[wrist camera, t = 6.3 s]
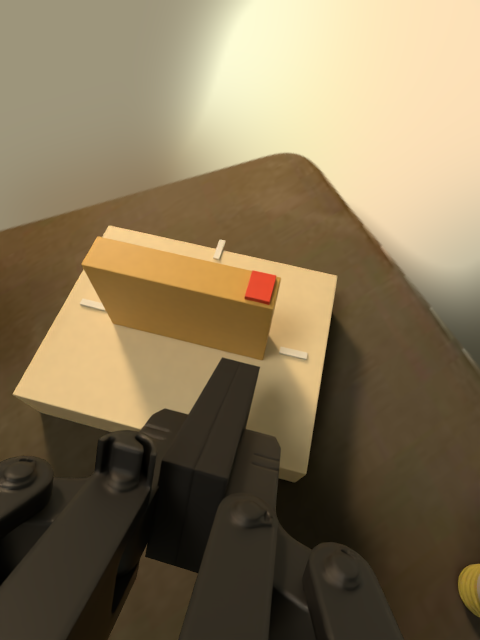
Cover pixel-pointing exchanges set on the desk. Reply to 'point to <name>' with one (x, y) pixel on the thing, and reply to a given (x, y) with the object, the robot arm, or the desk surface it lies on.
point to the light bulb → (470, 588)
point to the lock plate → (184, 358)
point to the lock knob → (183, 296)
